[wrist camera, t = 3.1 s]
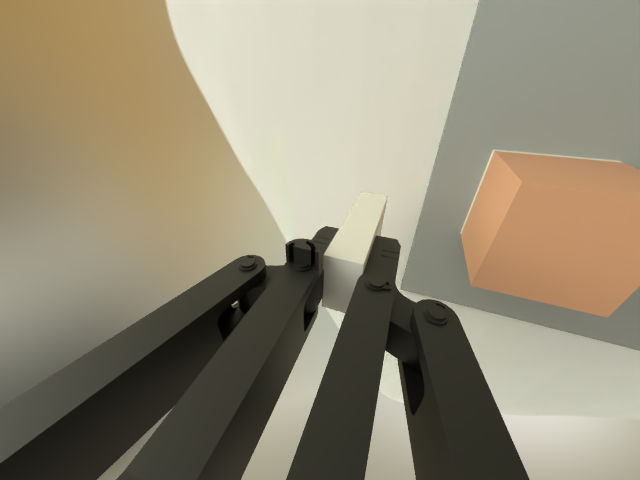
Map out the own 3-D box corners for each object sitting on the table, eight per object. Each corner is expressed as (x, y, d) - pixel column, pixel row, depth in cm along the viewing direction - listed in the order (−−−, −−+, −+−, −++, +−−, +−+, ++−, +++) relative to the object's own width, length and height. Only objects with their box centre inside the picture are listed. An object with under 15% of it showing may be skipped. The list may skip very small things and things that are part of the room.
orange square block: (493, 149, 15) (522, 181, 10) (618, 160, 13) (722, 206, 9) (460, 232, 18) (470, 285, 14) (557, 250, 17) (607, 317, 12)
